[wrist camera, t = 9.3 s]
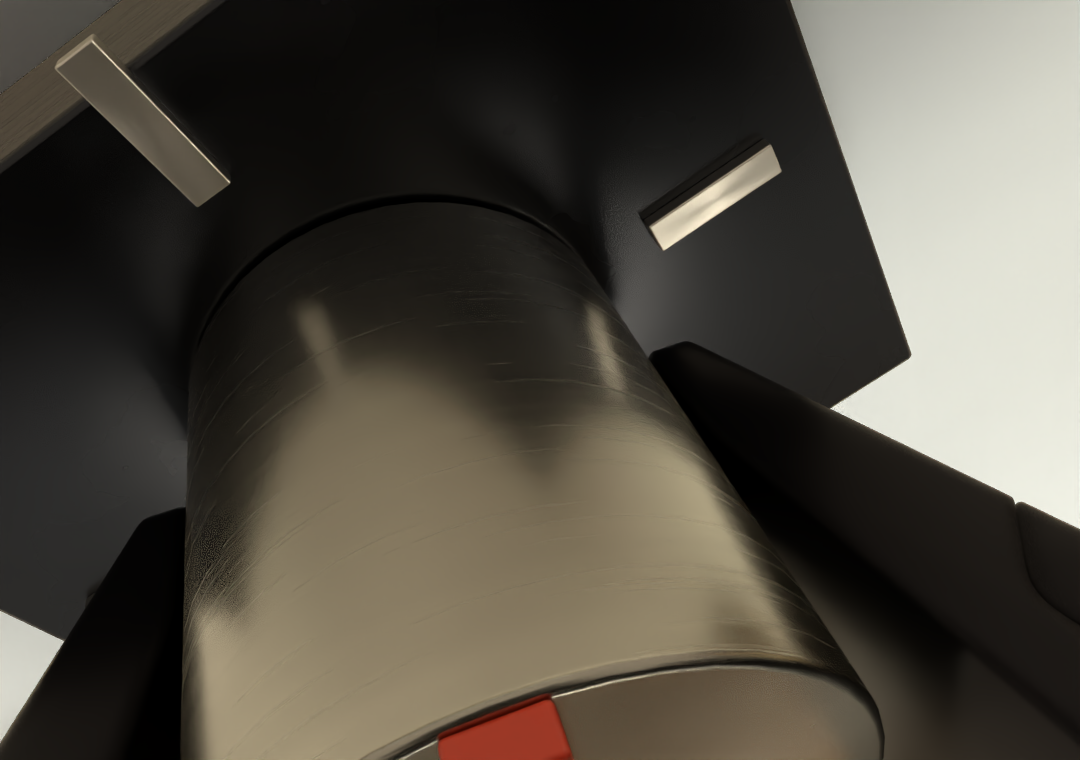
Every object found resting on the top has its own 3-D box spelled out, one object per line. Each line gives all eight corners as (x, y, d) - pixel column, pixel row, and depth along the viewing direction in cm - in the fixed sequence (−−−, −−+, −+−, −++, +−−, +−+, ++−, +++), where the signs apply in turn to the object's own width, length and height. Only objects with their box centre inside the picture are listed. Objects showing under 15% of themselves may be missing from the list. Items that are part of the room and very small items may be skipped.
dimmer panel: (292, 618, 14) (305, 767, 12) (-278, 265, 9) (-419, 433, 7) (818, 274, 13) (927, 379, 11) (545, -381, 8) (665, -407, 6)
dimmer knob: (634, 467, 11) (886, 925, 7) (286, 589, 10) (336, 1160, 6) (586, 138, 8) (971, 593, 4) (99, 286, 7) (-19, 976, 3)
